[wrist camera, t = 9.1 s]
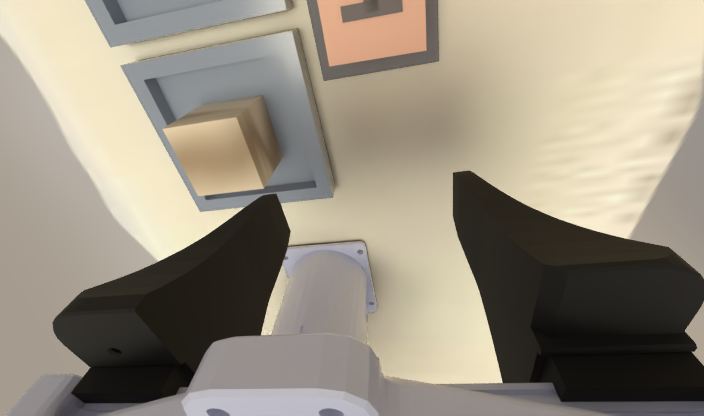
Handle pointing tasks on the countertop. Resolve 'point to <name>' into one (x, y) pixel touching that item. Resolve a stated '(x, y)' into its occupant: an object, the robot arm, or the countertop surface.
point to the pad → (379, 63)
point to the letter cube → (372, 29)
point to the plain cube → (226, 146)
